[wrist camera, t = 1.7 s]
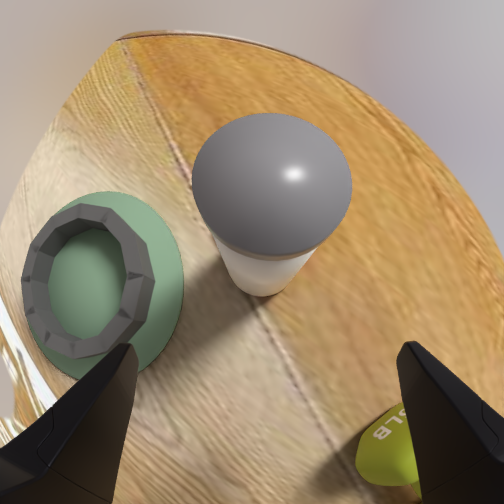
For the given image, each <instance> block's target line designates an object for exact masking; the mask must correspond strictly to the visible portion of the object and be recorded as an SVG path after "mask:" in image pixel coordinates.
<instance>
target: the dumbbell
mask: <svg viewBox="0 0 504 504" xmlns="http://www.w3.org/2000/svg"><path fill="white" fill-rule="evenodd" d="M355 465H356V469H357V471H358V472H359V473H360V475H361V476H362V477H363V478H364V479H365V480H366V481H368V482H369V483H372V484H375V485H381V486H404V485H409V484H411V486H412V487H413V489H414V491H415V492H416V494H417V495H418V496H419V498H420V499H421V500H422V498H421V490H420V484H419V477H418V471H417V466H416V460H415V455H414V450H413V445H412V440H411V436H410V431H409V427H408V422H407V418H406V414H405V410H404V406H403V402H402V403H399V404H398V405H396V406H395V407H393V408H392V409H390V410H389V411H388V412H387V413H386V414H384V415H383V416H382V417H381V418H380V419H378V420H377V421H376V422H375V423H373V424H372V425H371V426H370V427H369V428H368V429H367V430H366V431H365V432H364V433H363V435H362V436H361V439H360V442H359V445H358V449H357V454H356V459H355ZM421 504H422V503H421Z"/></svg>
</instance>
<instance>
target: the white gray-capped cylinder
mask: <svg viewBox="0 0 504 504" xmlns="http://www.w3.org/2000/svg"><path fill="white" fill-rule="evenodd" d="M192 190H193V195H194V199H195V202H196V204H197V207H198V209H199V212H200V214H201V216H202V218H203V220H204V222H205V224H206V226H207V227H208V229H209V230H210V231H211V233H212V235H213V237H214V239H215V242H216V244H217V246H218V249H219V251H220V253H221V256H222V258H223V260H224V263H225V265H226V267H227V270H228V272H229V274H230V277H231V279H232V280H233V282H234V283H235V285H236V286H237V287H238V288H240V289H241V290H242V291H244V292H246V293H248V294H250V295H253V296H259V297H264V296H270V295H274V294H276V293H278V292H280V291H281V290H283V289H284V288H285V287H286V286H287V285H288V284H289V283H290V281H291V280H292V279H293V278H294V276H295V275H296V274H297V273H298V271H299V270H300V269H301V268H302V266H303V265H304V264H305V262H306V261H307V260H308V259H309V257H310V256H311V255H312V254H313V252H314V251H315V250H316V248H317V247H318V246H320V245H321V244H322V243H323V242H324V241H325V240H326V239H327V238H328V237H329V236H330V235H331V234H332V232H333V231H334V230H335V229H336V227H337V226H338V225H339V223H340V222H341V221H342V219H343V218H344V216H345V214H346V212H347V210H348V207H349V204H350V200H351V194H352V179H351V172H350V169H349V166H348V163H347V161H346V158H345V156H344V154H343V153H342V151H341V150H340V148H339V147H338V146H337V144H336V143H335V142H334V141H333V140H332V139H331V138H330V137H329V136H328V135H327V134H326V133H325V132H323V131H322V130H321V129H319V128H318V127H316V126H315V125H313V124H311V123H309V122H307V121H305V120H302V119H300V118H297V117H293V116H289V115H285V114H277V113H262V114H254V115H249V116H245V117H242V118H239V119H236V120H234V121H232V122H230V123H228V124H226V125H224V126H223V127H221V128H220V129H218V130H217V131H216V132H215V133H214V134H213V135H211V136H210V137H209V138H208V140H207V141H206V142H205V143H204V145H203V146H202V148H201V149H200V151H199V153H198V155H197V157H196V160H195V163H194V167H193V171H192Z"/></svg>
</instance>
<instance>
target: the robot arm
mask: <svg viewBox="0 0 504 504" xmlns="http://www.w3.org/2000/svg"><path fill="white" fill-rule="evenodd" d="M396 364H397V370H398V376H399V382H400V389H401V396H402V401H403V406H404V410H405V414H406V418H407V422H408V427H409V431H410V436H411V440H412V445H413V450H414V455H415V460H416V466H417V471H418V477H419V484H420V490H421V498H422V504H504V418H503V417H502V416H501V415H499V414H498V413H497V412H496V411H495V410H494V409H492V408H491V407H490V406H489V405H488V404H487V403H486V402H485V401H484V400H482V399H481V398H480V397H479V396H478V395H477V394H476V393H475V392H474V391H473V390H471V389H470V388H469V387H468V386H467V385H466V384H465V383H464V382H463V381H461V380H460V379H459V378H458V377H457V376H456V375H455V374H454V373H452V372H451V371H450V370H449V369H448V368H447V367H446V366H445V365H443V364H442V363H441V362H440V361H439V360H438V359H437V358H435V357H434V356H433V355H432V354H431V353H430V352H428V351H427V350H426V349H425V348H424V347H423V346H421V345H420V344H419V343H418V342H416V341H408V342H405V343H404V344H403V346H402V348H401V350H400V352H399V354H398V356H397V360H396ZM138 368H139V359H138V356H137V354H136V351H135V349H134V346H133V345H132V344H131V343H126V342H120V343H119V344H117V345H116V346H115V347H114V348H113V349H112V350H111V351H110V352H109V353H108V354H107V355H105V356H104V357H103V358H102V359H101V360H100V361H99V362H98V363H97V364H96V365H95V366H94V367H93V368H92V369H90V370H89V371H88V372H87V373H86V374H85V375H84V376H83V377H82V378H81V379H80V380H79V381H78V382H77V383H76V384H74V385H73V386H72V387H71V388H70V389H69V390H68V391H67V392H66V393H65V394H64V395H63V396H62V397H61V398H60V399H59V400H58V401H57V402H56V403H55V404H53V406H52V407H50V408H49V409H48V410H47V411H46V412H45V413H44V414H43V415H42V416H41V417H40V418H39V419H37V420H36V421H35V422H34V423H33V424H32V425H30V426H29V427H28V428H27V429H25V430H24V431H23V432H22V433H20V434H19V435H18V436H16V437H15V438H14V439H13V440H11V441H10V442H9V443H7V444H6V445H5V446H3V447H2V448H0V504H112V501H113V496H114V490H115V485H116V479H117V474H118V469H119V464H120V459H121V455H122V450H123V445H124V441H125V437H126V432H127V428H128V424H129V420H130V416H131V412H132V407H133V402H134V396H135V388H136V381H137V374H138Z"/></svg>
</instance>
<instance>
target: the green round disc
mask: <svg viewBox="0 0 504 504" xmlns="http://www.w3.org/2000/svg"><path fill="white" fill-rule="evenodd" d="M21 285H22V294H23V302H24V309H25V316H26V317H27V321H28V324H29V327H30V330H31V332H32V334H33V337H34V339H35V341H36V342H37V344H38V346H39V348H40V349H41V350H42V352H43V353H44V354H45V356H46V357H47V358H48V359H49V360H50V361H51V362H52V363H53V364H54V365H55V366H56V367H57V368H59V369H60V370H61V371H63V372H64V373H66V374H68V375H70V376H71V377H74V378H76V379H79V380H80V379H81V378H82V377H83V376H84V375H85V374H86V373H87V372H88V371H89V370H90V369H92V368H93V367H94V366H95V365H96V364H97V363H98V362H99V361H100V360H101V359H102V358H103V357H104V356H105V355H107V354H108V353H109V352H110V351H111V350H112V349H113V348H114V347H115V346H116V345H117V344H119V343H120V342H126V343H131V344H132V345H133V346H134V349H135V351H136V354H137V356H138V359H139V368H138V372H140V371H141V370H143V369H144V368H146V367H147V366H148V365H149V364H150V363H151V362H152V361H153V360H155V359H156V358H157V356H158V355H159V354H160V353H161V351H162V350H163V349H164V348H165V346H166V344H167V343H168V341H169V339H170V338H171V336H172V334H173V331H174V329H175V327H176V324H177V322H178V318H179V315H180V311H181V307H182V300H183V291H184V276H183V266H182V261H181V256H180V252H179V249H178V246H177V243H176V241H175V239H174V237H173V235H172V233H171V231H170V229H169V228H168V226H167V225H166V223H165V222H164V220H163V219H162V218H161V217H160V216H159V215H158V213H157V212H156V211H155V210H154V209H152V208H151V207H150V206H149V205H147V204H146V203H145V202H143V201H141V200H140V199H138V198H136V197H133V196H131V195H128V194H124V193H120V192H109V191H106V192H96V193H92V194H88V195H85V196H82V197H80V198H78V199H76V200H74V201H72V202H70V203H69V204H67V205H66V206H64V207H63V208H62V209H60V210H59V211H58V212H57V213H56V214H55V215H54V216H52V217H51V218H50V219H49V220H48V222H47V223H46V224H45V225H44V227H43V228H42V229H41V230H40V232H39V233H38V234H37V236H36V237H35V238H34V240H33V241H32V242H31V244H30V247H29V250H28V254H27V257H26V261H25V265H24V269H23V273H22V277H21Z"/></svg>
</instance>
